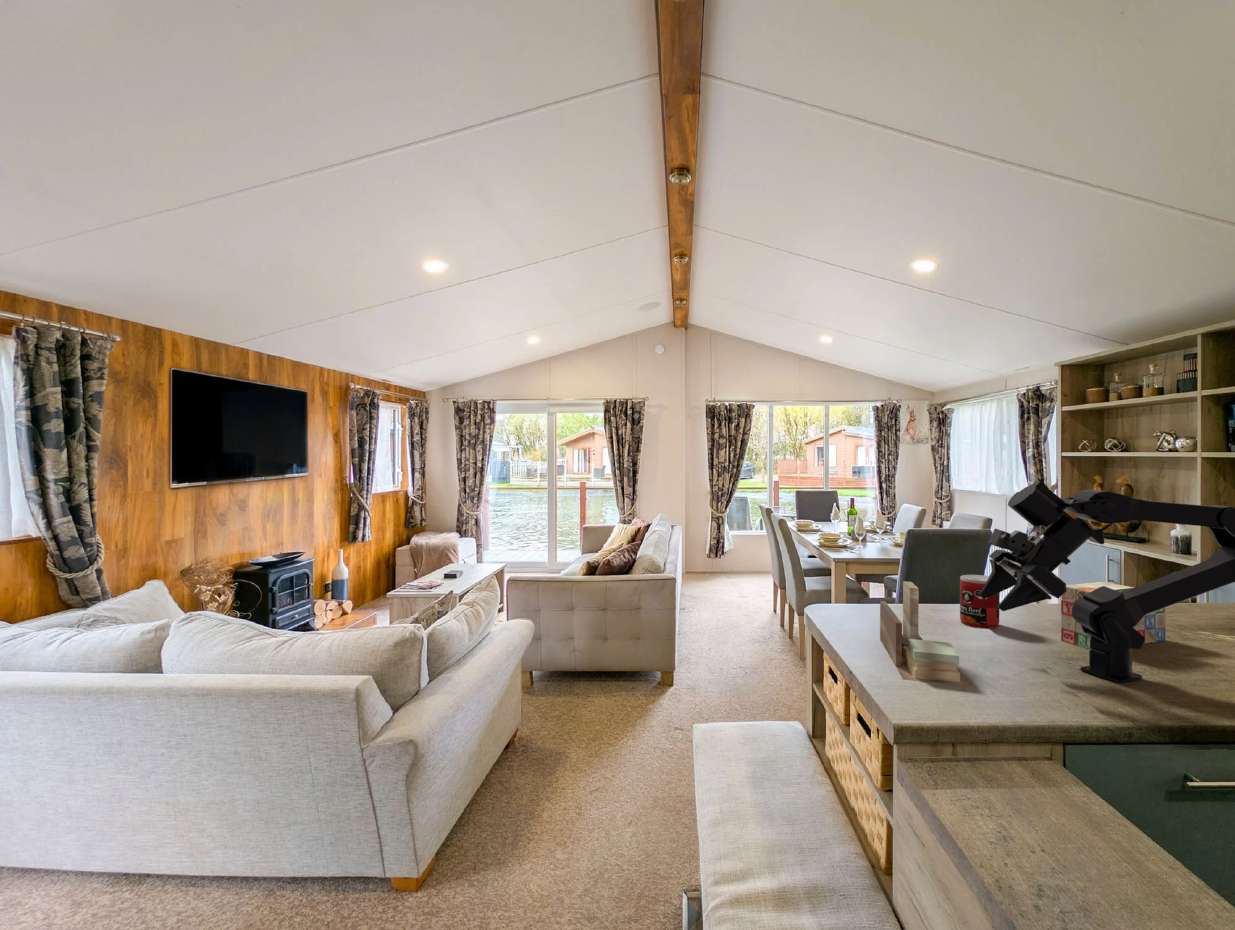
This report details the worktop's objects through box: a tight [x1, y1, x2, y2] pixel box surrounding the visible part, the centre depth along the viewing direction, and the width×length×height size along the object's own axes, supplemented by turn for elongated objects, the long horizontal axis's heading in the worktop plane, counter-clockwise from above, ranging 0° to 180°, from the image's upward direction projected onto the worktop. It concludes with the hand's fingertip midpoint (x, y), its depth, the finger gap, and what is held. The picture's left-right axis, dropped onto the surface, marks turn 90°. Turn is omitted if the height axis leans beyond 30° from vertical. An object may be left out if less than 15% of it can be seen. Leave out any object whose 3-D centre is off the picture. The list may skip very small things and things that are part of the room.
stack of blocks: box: [1060, 581, 1167, 650], centre depth 122 cm, size 21×6×12 cm, turn 105°
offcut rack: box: [879, 600, 972, 687], centre depth 107 cm, size 10×22×10 cm, turn 165°
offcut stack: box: [902, 639, 960, 682], centre depth 101 cm, size 8×8×4 cm
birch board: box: [902, 581, 920, 643], centre depth 112 cm, size 2×6×13 cm, turn 165°
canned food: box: [959, 574, 1001, 629], centre depth 135 cm, size 8×8×11 cm
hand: (990, 602), depth 108 cm, fingers open, 9 cm apart
